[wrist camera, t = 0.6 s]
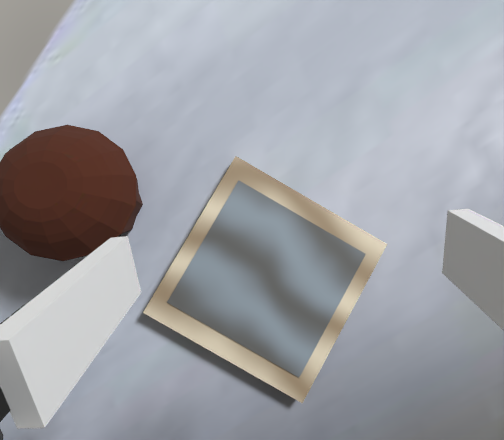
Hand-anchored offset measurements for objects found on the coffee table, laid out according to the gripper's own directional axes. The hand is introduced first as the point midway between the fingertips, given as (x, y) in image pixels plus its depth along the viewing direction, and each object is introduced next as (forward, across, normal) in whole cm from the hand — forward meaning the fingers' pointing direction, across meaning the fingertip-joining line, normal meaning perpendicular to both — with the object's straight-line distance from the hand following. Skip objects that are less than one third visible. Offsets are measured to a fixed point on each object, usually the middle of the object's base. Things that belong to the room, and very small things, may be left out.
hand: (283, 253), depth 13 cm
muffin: (+19, +18, +1) cm, 27 cm away
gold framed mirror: (+18, +2, +10) cm, 21 cm away
